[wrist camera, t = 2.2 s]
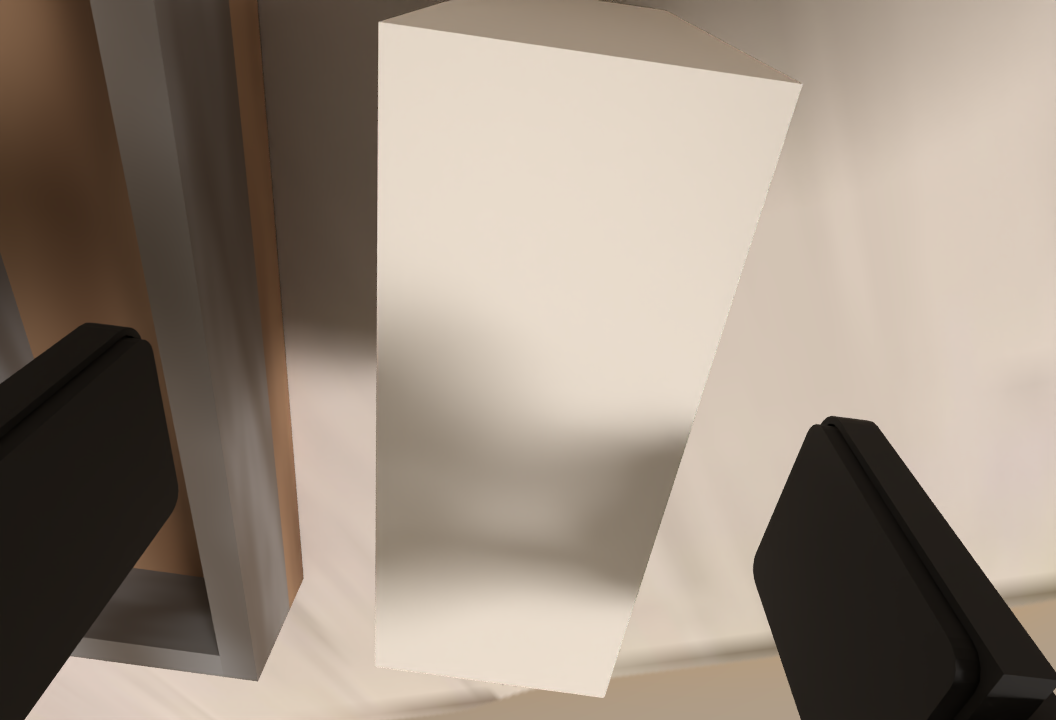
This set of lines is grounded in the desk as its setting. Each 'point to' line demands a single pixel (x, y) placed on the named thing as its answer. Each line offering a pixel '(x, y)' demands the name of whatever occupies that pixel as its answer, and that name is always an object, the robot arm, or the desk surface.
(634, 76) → the white rectangular box
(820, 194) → the desk surface
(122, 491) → the robot arm
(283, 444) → the door track
